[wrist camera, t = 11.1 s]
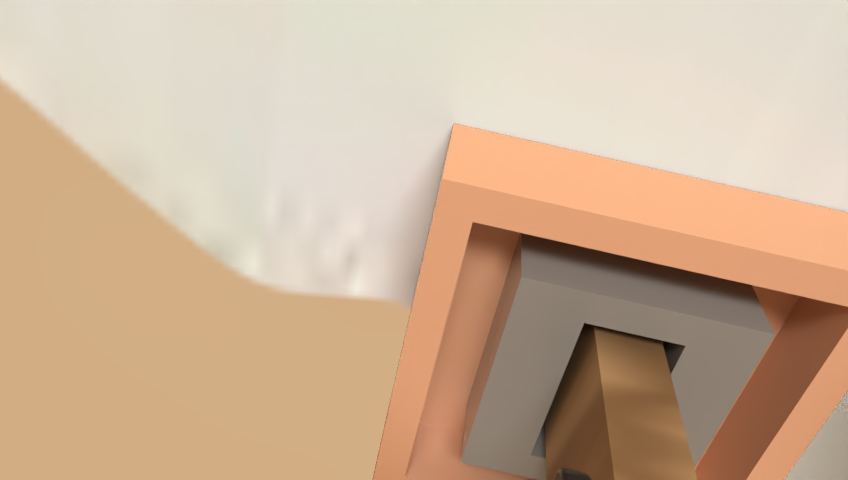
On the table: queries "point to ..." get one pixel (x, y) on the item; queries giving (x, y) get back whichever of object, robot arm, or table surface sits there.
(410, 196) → the table surface
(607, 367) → the wooden block
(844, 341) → the candle dish
